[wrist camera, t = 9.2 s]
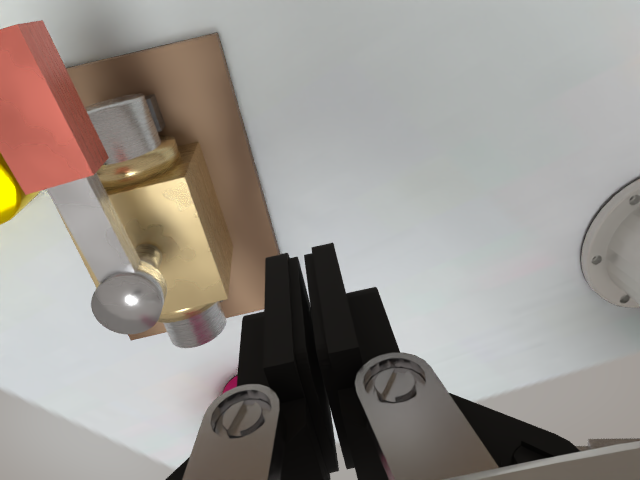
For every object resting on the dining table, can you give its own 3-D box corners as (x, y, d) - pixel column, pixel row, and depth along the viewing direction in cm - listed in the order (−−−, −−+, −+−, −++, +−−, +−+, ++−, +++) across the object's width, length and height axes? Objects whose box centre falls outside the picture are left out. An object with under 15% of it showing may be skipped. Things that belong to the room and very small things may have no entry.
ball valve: (178, 79, 31) (145, 117, 22) (248, 290, 38) (244, 381, 29) (68, 105, 31) (-9, 153, 22) (159, 311, 38) (129, 409, 29)
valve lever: (178, 297, 27) (171, 324, 25) (121, 313, 27) (109, 341, 25) (44, 19, 20) (19, 23, 18) (-30, 41, 20) (-64, 48, 18)
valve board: (217, 32, 31) (216, 34, 30) (290, 292, 41) (291, 302, 39) (15, 79, 31) (5, 83, 30) (135, 328, 41) (130, 340, 39)
